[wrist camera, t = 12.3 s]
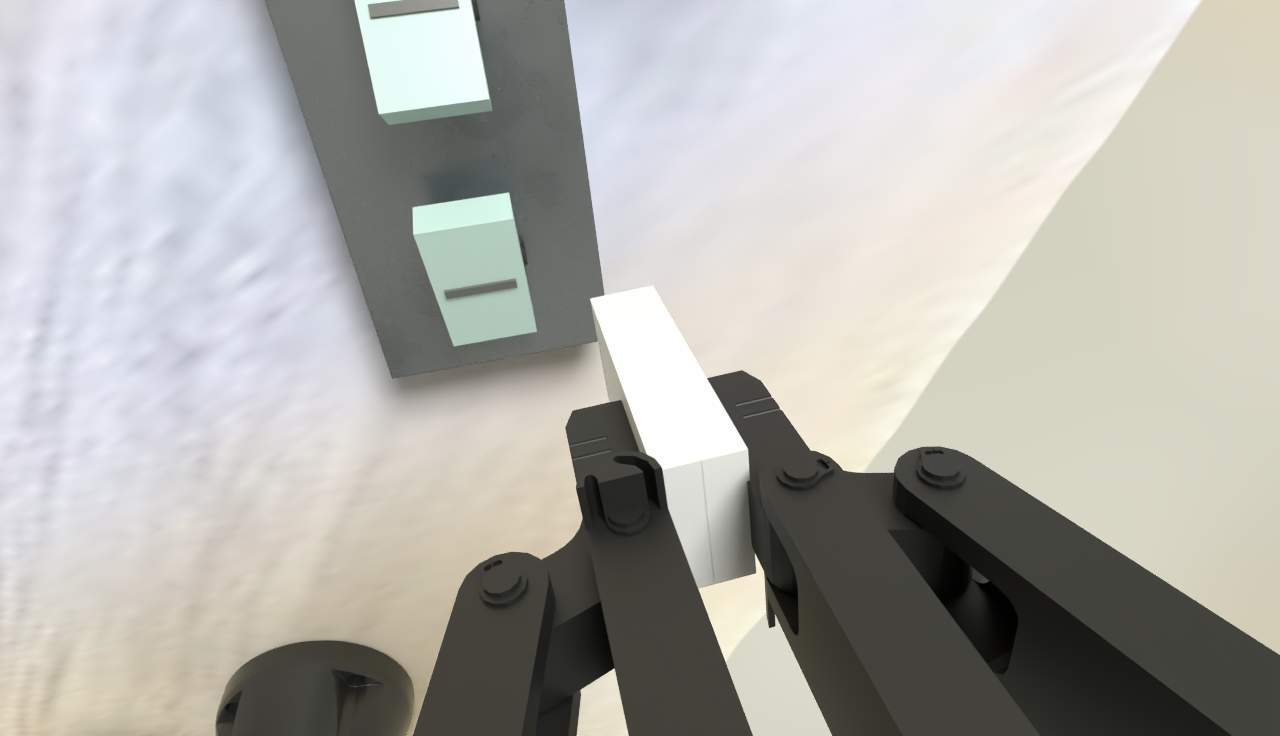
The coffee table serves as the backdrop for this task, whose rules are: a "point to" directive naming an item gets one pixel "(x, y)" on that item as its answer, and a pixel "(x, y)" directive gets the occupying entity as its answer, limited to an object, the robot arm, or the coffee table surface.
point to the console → (453, 173)
